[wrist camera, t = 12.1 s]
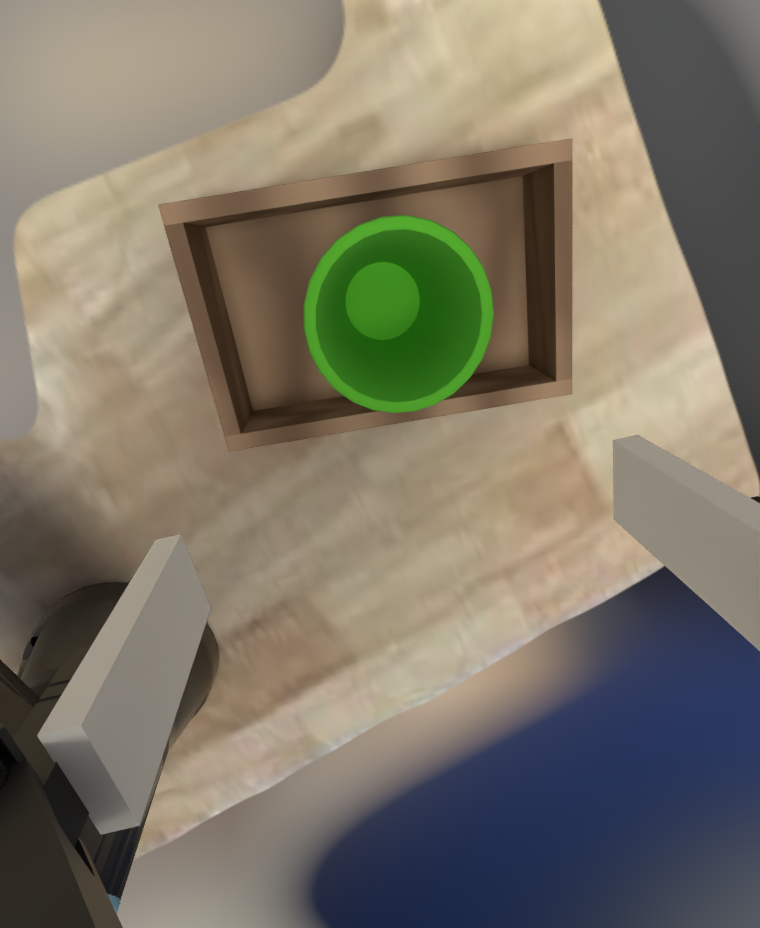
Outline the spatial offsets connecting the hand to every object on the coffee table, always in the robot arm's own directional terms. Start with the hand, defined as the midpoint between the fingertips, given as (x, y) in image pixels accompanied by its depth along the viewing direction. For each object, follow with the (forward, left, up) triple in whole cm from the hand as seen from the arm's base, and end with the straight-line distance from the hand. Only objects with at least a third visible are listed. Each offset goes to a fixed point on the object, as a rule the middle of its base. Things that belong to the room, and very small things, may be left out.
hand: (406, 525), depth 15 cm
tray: (+1, +4, -23) cm, 24 cm away
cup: (+2, +4, -22) cm, 23 cm away
